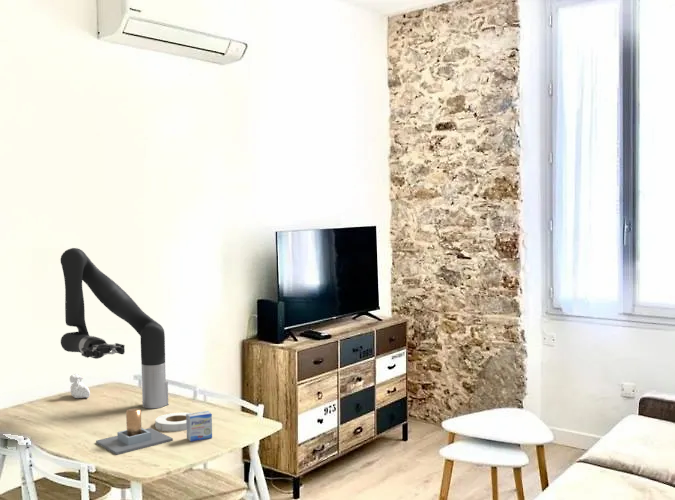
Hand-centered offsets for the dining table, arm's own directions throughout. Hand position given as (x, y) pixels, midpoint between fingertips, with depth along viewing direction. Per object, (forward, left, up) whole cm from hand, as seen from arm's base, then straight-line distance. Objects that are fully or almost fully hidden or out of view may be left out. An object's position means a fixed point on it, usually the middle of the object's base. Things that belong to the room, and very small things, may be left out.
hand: (111, 353), depth 247 cm
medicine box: (-18, +28, -28) cm, 44 cm away
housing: (0, +16, -28) cm, 32 cm away
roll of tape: (-20, +9, -29) cm, 36 cm away
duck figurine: (-9, -54, -28) cm, 62 cm away
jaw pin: (0, +16, -27) cm, 32 cm away
